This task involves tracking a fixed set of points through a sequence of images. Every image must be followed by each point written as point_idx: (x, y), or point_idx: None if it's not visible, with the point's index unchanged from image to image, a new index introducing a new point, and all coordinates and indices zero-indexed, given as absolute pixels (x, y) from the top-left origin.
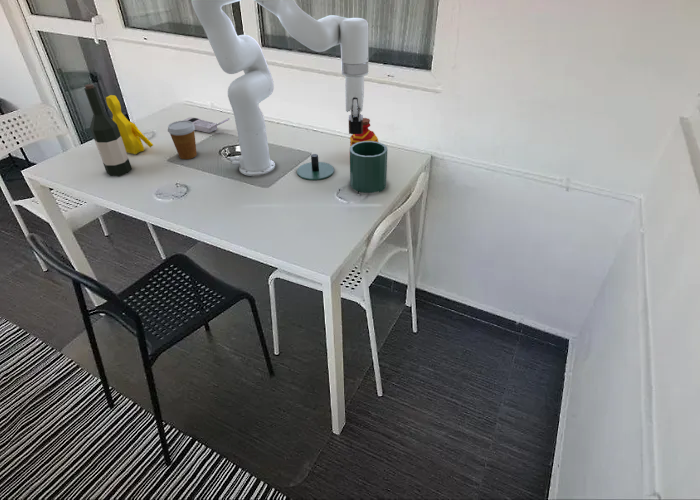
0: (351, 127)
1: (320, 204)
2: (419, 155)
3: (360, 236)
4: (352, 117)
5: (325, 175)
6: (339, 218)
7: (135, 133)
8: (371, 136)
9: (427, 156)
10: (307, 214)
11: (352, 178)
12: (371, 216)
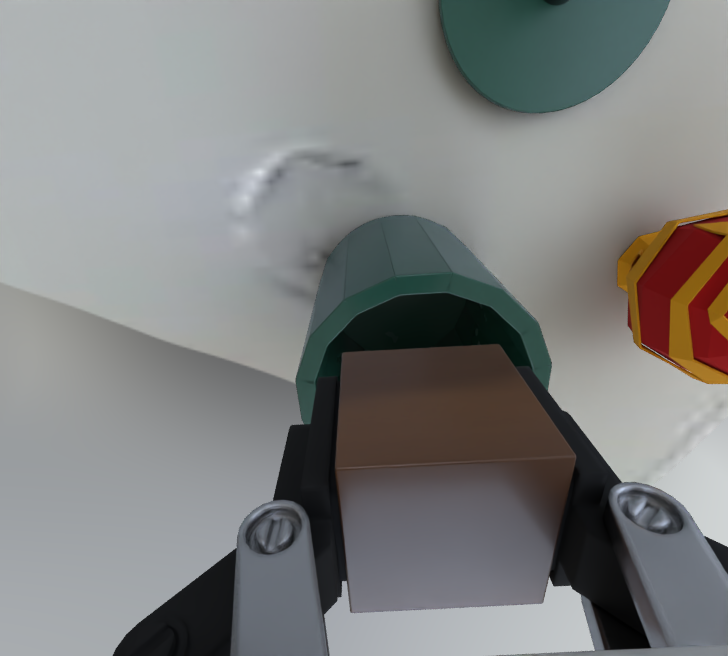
0: (313, 433)
1: (196, 71)
2: (633, 468)
3: (3, 282)
4: (137, 642)
5: (479, 64)
6: (99, 187)
7: None
8: (719, 365)
9: None
10: (80, 4)
11: (352, 244)
12: (154, 315)
